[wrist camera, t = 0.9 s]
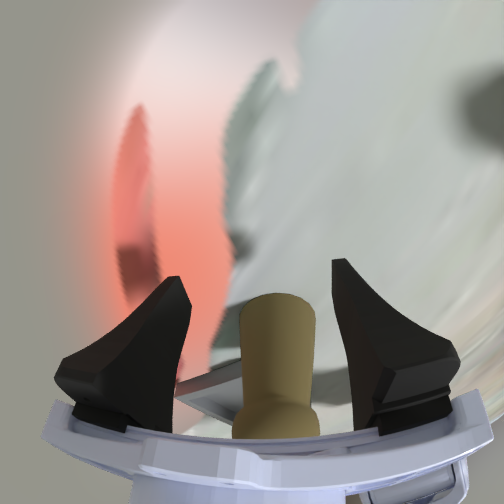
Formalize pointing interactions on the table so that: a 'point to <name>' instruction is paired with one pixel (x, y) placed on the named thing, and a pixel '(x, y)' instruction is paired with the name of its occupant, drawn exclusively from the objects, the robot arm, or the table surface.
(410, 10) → the table surface
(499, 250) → the table surface
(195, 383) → the socket holder
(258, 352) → the cork
